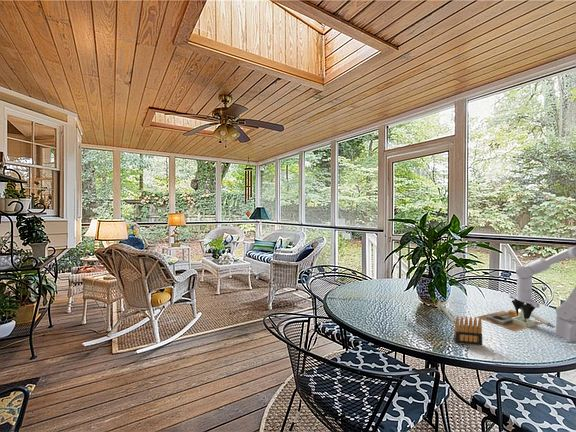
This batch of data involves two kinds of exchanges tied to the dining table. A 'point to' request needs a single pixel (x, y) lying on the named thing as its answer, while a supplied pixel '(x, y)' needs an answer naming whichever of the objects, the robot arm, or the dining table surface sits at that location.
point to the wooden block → (509, 314)
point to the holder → (504, 321)
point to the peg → (521, 315)
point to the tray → (528, 324)
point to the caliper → (442, 307)
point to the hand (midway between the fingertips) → (523, 316)
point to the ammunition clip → (468, 331)
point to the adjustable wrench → (541, 320)
